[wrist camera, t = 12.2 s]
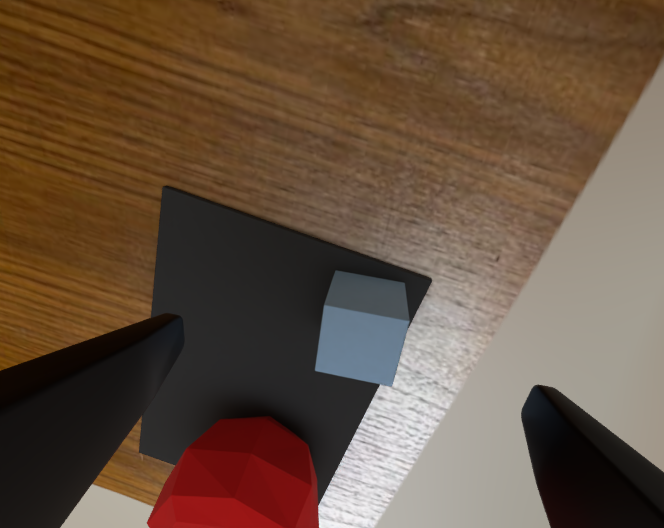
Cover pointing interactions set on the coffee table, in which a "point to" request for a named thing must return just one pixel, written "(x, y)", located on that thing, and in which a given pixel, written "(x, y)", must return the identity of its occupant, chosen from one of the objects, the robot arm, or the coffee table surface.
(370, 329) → the block
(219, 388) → the mat
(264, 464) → the apple
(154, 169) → the coffee table surface
